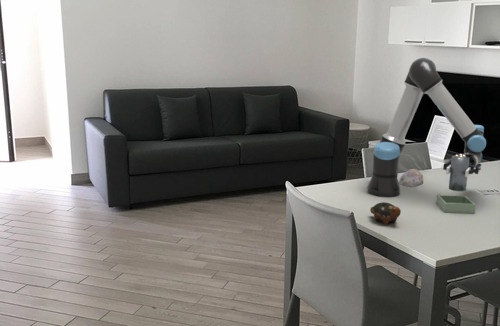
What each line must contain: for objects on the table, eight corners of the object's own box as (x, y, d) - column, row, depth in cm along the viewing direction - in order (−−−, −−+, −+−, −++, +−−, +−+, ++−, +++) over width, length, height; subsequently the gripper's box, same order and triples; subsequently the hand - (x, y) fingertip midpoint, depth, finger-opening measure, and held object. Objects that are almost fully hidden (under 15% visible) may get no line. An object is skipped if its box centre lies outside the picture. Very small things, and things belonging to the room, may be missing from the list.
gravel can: (451, 191, 227) (455, 155, 224) (446, 186, 234) (449, 152, 230) (468, 191, 227) (472, 155, 223) (462, 186, 234) (466, 152, 230)
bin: (444, 212, 227) (445, 203, 226) (436, 203, 239) (437, 194, 238) (474, 213, 226) (475, 204, 225) (464, 204, 238) (465, 195, 237)
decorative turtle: (392, 229, 206) (392, 209, 204) (362, 220, 218) (362, 202, 216) (408, 223, 211) (408, 204, 210) (378, 215, 224) (378, 197, 222)
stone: (405, 197, 267) (420, 186, 262) (392, 181, 269) (407, 170, 264) (414, 189, 281) (429, 178, 276) (402, 174, 283) (416, 163, 278)
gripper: (490, 173, 239) (480, 184, 220) (444, 167, 249) (431, 177, 230) (492, 156, 237) (482, 167, 218) (445, 151, 248) (433, 160, 229)
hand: (456, 172), depth 224 cm, fingers closed on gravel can, 7 cm apart
